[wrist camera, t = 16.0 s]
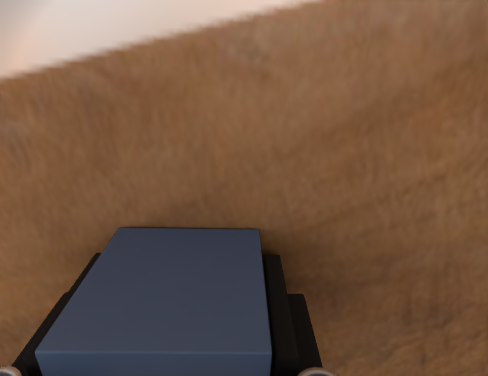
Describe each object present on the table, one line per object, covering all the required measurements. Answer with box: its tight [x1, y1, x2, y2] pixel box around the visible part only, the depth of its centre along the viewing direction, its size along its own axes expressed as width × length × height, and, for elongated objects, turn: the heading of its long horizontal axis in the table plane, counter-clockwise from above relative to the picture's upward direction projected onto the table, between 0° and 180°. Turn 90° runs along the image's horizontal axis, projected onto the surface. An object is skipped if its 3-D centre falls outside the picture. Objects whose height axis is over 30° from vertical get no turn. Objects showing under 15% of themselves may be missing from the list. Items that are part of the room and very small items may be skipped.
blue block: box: [35, 228, 272, 376], centre depth 9 cm, size 5×5×5 cm
